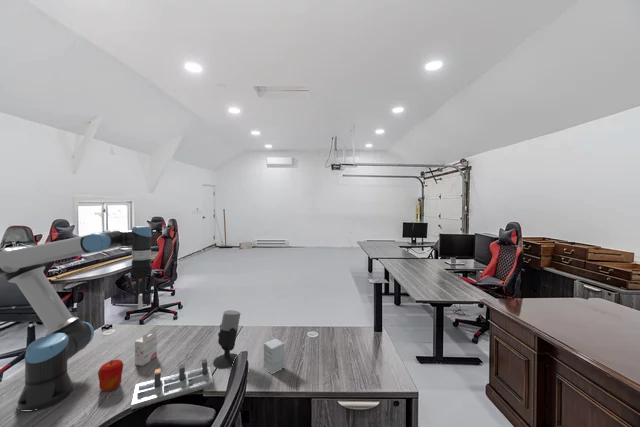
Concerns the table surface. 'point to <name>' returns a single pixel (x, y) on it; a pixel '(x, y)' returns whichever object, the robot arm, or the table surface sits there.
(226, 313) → the microphone
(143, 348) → the ink cartridge box
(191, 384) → the breaker panel
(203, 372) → the breaker right
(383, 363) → the table surface
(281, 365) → the supplement box
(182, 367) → the breaker mid
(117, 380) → the apple
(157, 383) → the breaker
